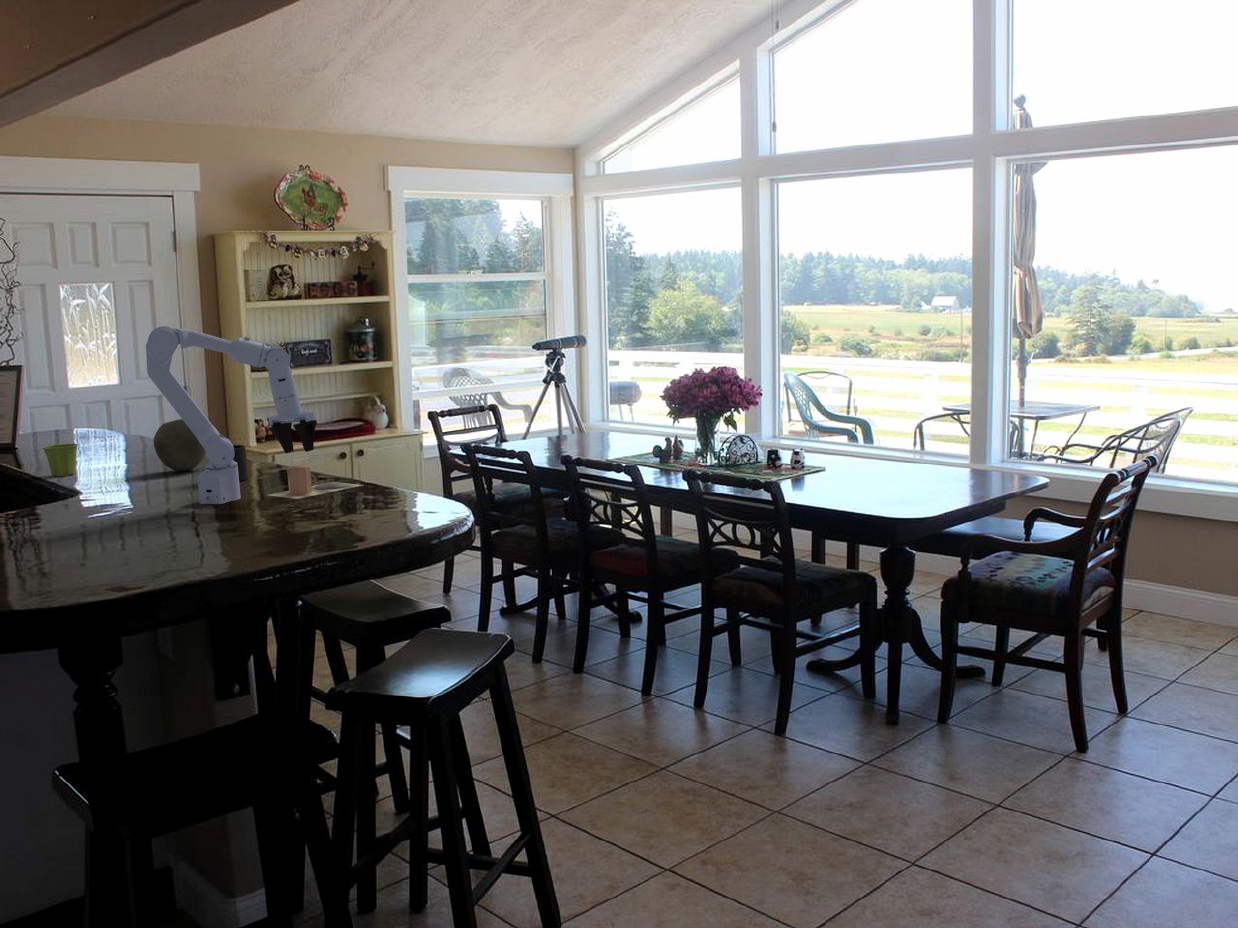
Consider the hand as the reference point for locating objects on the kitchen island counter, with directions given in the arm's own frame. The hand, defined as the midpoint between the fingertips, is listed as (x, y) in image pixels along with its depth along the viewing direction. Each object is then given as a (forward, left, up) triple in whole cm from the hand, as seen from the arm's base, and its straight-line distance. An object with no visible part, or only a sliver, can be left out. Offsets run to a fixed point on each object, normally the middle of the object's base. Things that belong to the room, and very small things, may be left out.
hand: (299, 451), depth 282 cm
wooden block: (-2, -1, -10) cm, 10 cm away
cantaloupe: (+34, +61, -11) cm, 71 cm away
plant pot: (+27, +97, -11) cm, 102 cm away
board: (+2, -2, -11) cm, 11 cm away
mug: (+21, +36, -11) cm, 44 cm away
